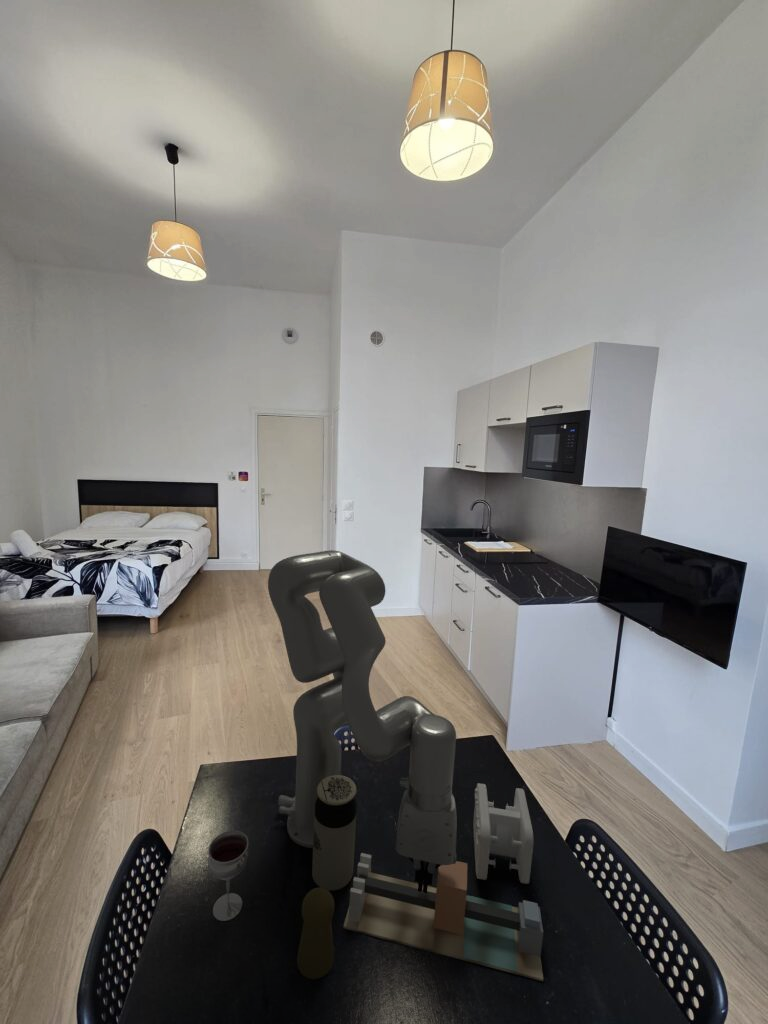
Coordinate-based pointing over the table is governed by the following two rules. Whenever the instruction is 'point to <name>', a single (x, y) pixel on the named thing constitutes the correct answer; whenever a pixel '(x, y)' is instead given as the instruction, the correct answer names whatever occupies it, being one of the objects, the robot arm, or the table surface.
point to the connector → (530, 928)
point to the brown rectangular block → (451, 897)
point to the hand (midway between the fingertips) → (423, 885)
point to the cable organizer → (502, 833)
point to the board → (445, 932)
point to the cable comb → (359, 888)
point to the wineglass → (228, 869)
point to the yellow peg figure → (316, 934)
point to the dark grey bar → (429, 899)
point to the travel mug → (334, 832)
